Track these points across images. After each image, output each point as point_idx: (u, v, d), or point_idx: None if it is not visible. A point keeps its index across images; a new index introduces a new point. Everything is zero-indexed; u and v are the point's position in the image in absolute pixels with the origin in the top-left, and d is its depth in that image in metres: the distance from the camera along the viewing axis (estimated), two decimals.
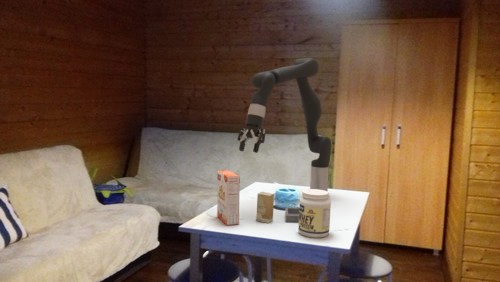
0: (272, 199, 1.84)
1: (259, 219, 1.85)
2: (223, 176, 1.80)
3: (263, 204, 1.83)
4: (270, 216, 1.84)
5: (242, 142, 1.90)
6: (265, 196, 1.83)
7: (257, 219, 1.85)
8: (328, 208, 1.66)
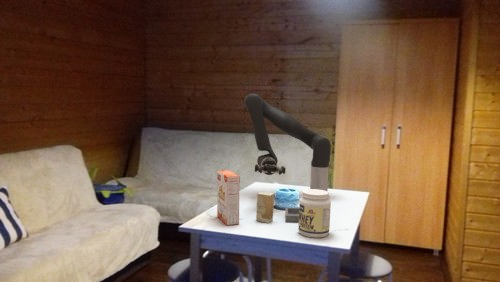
0: (272, 199, 1.84)
1: (259, 219, 1.85)
2: (223, 176, 1.80)
3: (263, 204, 1.83)
4: (270, 216, 1.84)
5: (278, 172, 1.98)
6: (265, 196, 1.83)
7: (257, 219, 1.85)
8: (328, 208, 1.66)
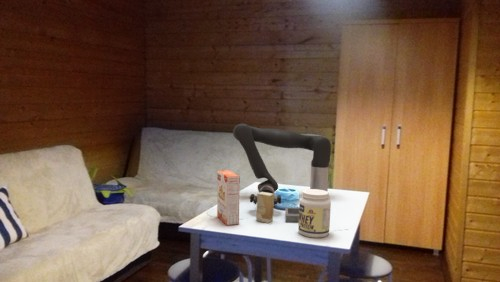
0: (272, 199, 1.84)
1: (259, 219, 1.85)
2: (223, 176, 1.80)
3: (263, 204, 1.83)
4: (270, 216, 1.84)
5: None
6: (265, 196, 1.83)
7: (257, 219, 1.85)
8: (328, 208, 1.66)
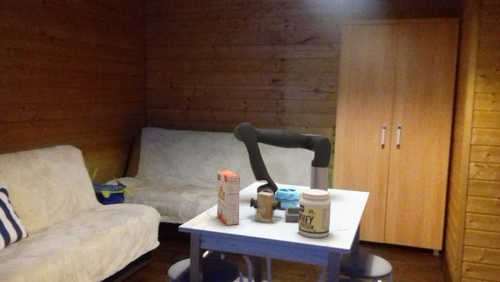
0: (272, 199, 1.84)
1: (259, 219, 1.85)
2: (223, 176, 1.80)
3: (263, 204, 1.83)
4: (270, 216, 1.84)
5: None
6: (265, 196, 1.83)
7: (257, 219, 1.85)
8: (328, 208, 1.66)
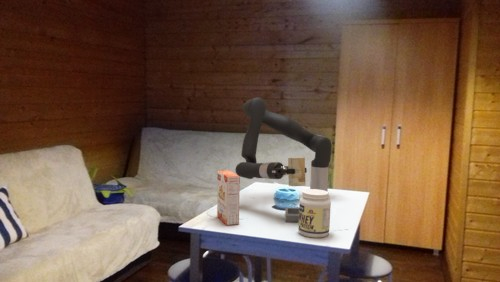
0: None
1: (296, 184, 1.81)
2: (223, 176, 1.80)
3: (298, 167, 1.82)
4: None
5: None
6: (300, 159, 1.82)
7: (294, 184, 1.81)
8: (328, 208, 1.66)
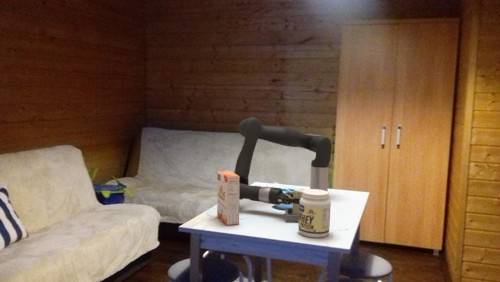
0: None
1: None
2: (223, 176, 1.80)
3: None
4: None
5: None
6: None
7: None
8: (328, 208, 1.66)
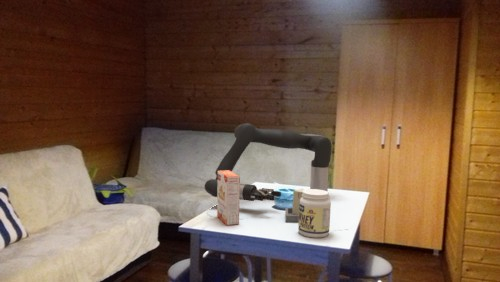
0: None
1: None
2: (223, 176, 1.80)
3: None
4: None
5: (273, 194, 2.00)
6: None
7: None
8: (328, 208, 1.66)
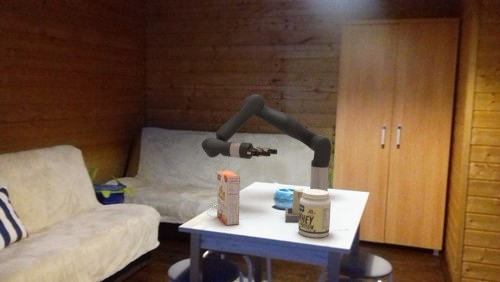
0: None
1: None
2: (223, 176, 1.80)
3: None
4: None
5: None
6: None
7: None
8: (328, 208, 1.66)
